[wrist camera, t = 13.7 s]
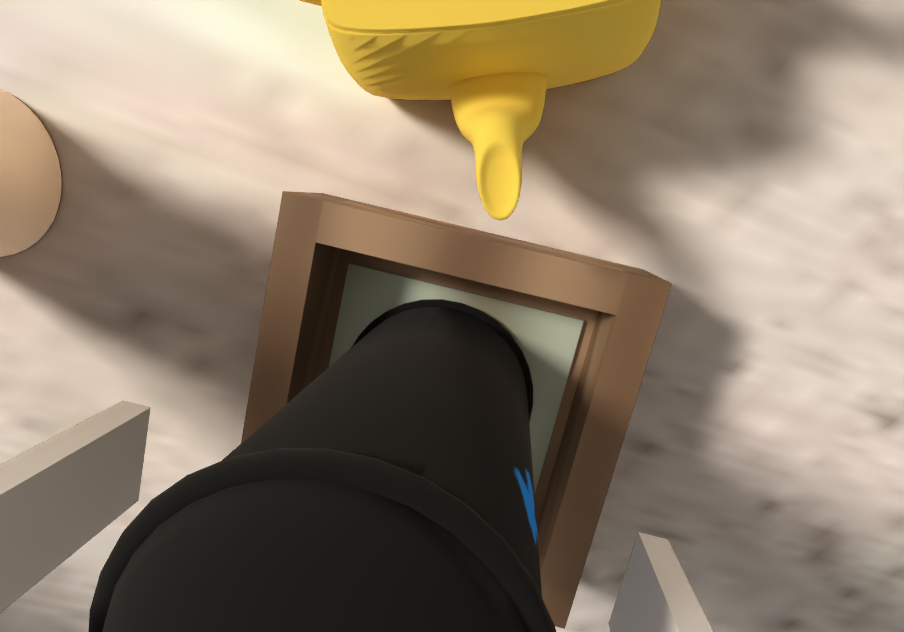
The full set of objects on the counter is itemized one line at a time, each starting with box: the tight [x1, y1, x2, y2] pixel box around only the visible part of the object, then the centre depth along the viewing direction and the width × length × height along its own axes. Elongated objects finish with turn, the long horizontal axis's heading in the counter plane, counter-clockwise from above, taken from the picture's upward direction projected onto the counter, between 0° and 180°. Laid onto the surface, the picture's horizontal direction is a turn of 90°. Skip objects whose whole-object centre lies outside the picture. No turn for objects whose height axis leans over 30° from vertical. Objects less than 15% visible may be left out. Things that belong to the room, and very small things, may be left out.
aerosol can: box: [89, 299, 556, 632], centre depth 16 cm, size 8×8×20 cm
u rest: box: [241, 191, 672, 629], centre depth 24 cm, size 14×14×4 cm
